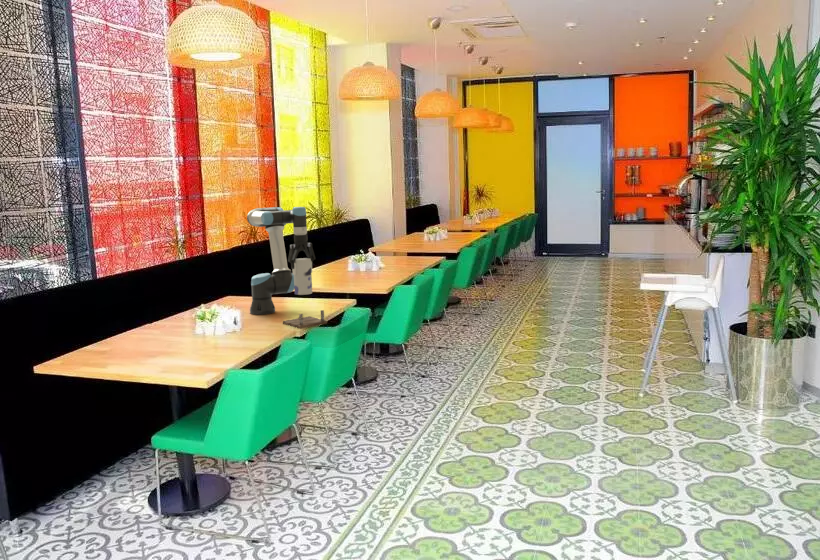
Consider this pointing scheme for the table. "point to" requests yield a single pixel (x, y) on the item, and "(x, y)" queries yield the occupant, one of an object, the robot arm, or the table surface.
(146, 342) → the table surface
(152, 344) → the table surface
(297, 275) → the container
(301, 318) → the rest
